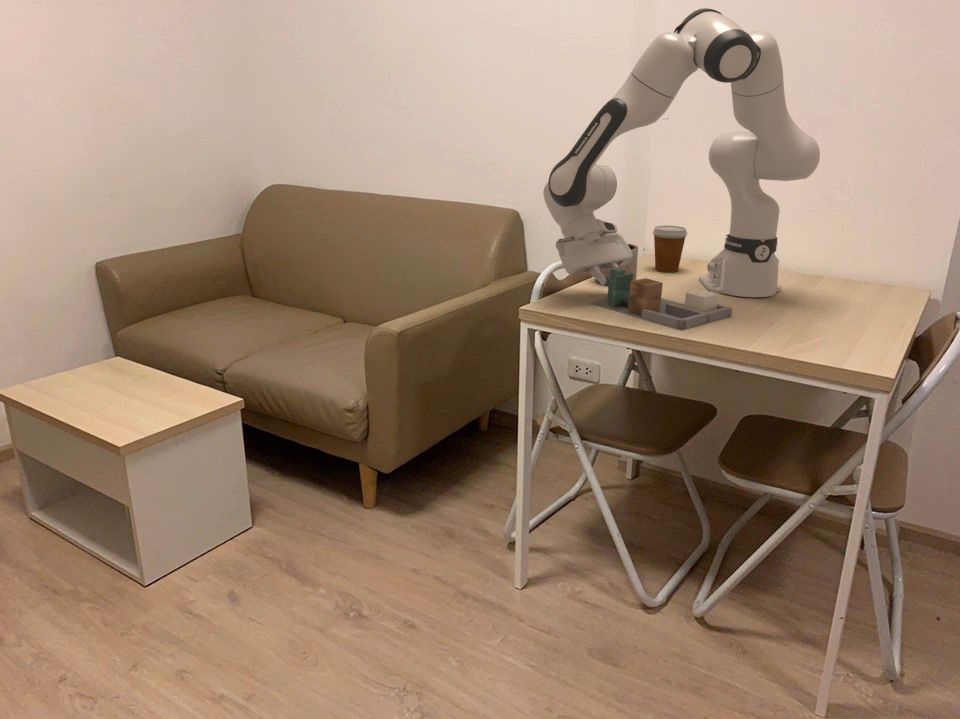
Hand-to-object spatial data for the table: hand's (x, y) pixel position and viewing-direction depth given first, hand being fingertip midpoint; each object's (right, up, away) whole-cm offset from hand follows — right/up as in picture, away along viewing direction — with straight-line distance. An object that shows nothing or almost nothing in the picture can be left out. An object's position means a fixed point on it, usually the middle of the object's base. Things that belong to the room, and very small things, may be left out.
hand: (612, 282), depth 181 cm
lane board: (+10, -7, -4) cm, 13 cm away
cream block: (+19, -8, -8) cm, 22 cm away
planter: (+5, +2, +24) cm, 25 cm away
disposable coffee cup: (+22, +7, +38) cm, 44 cm away
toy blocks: (+4, -6, -3) cm, 8 cm away
